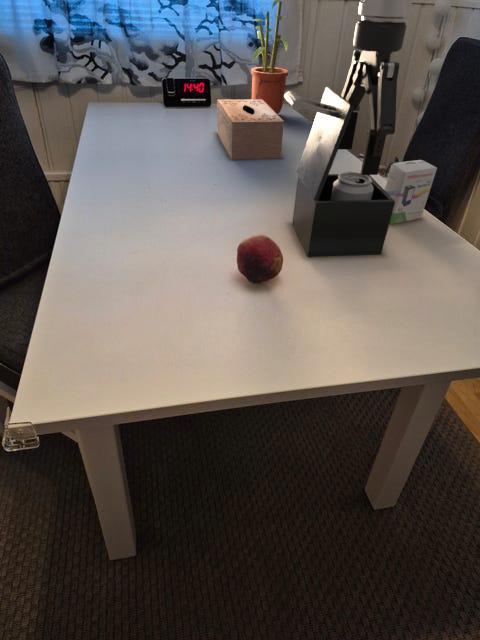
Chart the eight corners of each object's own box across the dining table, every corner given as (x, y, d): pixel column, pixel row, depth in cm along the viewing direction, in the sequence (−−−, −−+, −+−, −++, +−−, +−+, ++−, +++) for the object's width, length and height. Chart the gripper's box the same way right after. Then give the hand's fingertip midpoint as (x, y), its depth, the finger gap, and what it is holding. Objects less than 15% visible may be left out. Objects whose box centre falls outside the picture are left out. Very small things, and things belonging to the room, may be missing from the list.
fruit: (283, 272, 79) (288, 231, 74) (276, 296, 73) (281, 253, 68) (241, 265, 80) (242, 225, 76) (230, 288, 75) (232, 246, 70)
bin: (357, 223, 96) (368, 173, 89) (381, 254, 86) (395, 201, 79) (292, 224, 94) (298, 174, 88) (307, 257, 84) (315, 202, 77)
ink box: (406, 210, 102) (421, 158, 95) (422, 219, 99) (438, 166, 91) (376, 215, 99) (389, 162, 92) (391, 225, 96) (406, 171, 89)
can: (359, 247, 86) (373, 187, 78) (321, 240, 88) (331, 180, 80) (364, 230, 92) (377, 173, 84) (328, 224, 93) (338, 167, 86)
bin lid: (330, 87, 79) (284, 74, 76) (355, 106, 68) (303, 91, 66) (300, 172, 88) (258, 162, 85) (318, 200, 77) (271, 190, 75)
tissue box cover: (280, 158, 128) (284, 121, 121) (231, 159, 125) (232, 122, 119) (260, 132, 147) (262, 99, 141) (217, 133, 145) (217, 99, 139)
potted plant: (291, 116, 165) (303, 0, 143) (264, 123, 156) (272, 1, 134) (256, 107, 174) (262, -3, 153) (228, 113, 165) (230, -3, 144)
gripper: (334, 12, 76) (317, 140, 90) (390, 27, 57) (358, 187, 70) (375, 13, 77) (353, 139, 90) (445, 28, 58) (403, 186, 71)
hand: (355, 160), depth 80 cm, fingers open, 13 cm apart
